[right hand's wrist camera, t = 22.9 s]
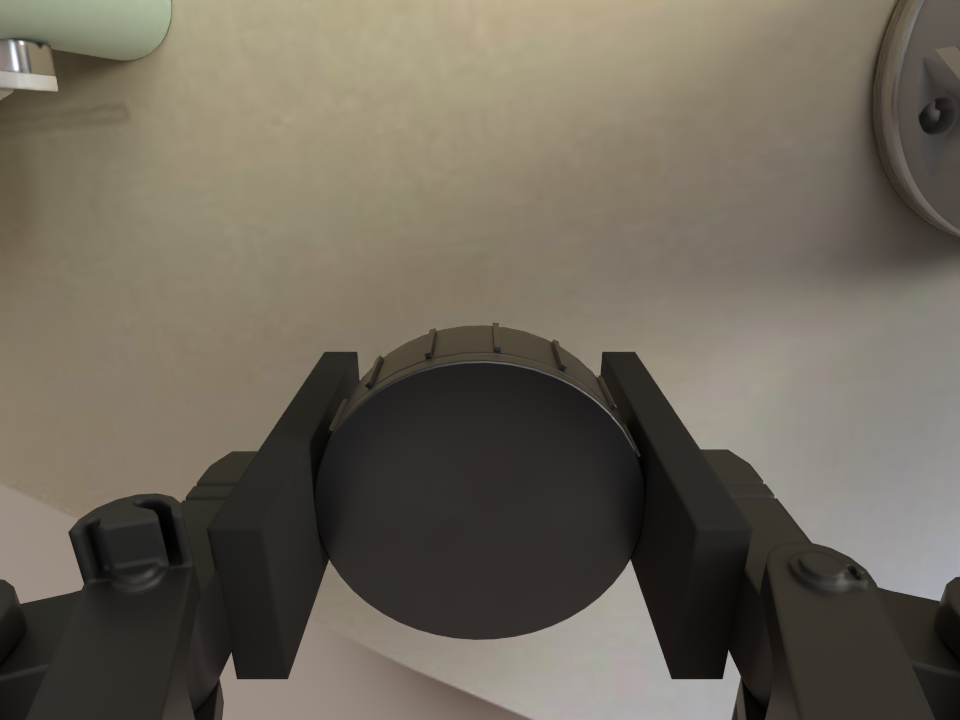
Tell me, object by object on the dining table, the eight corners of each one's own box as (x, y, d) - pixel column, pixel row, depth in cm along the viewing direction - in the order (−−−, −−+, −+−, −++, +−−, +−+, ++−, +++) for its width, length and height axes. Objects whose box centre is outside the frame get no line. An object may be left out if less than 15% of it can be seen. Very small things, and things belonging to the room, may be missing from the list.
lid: (307, 338, 11) (277, 376, 9) (624, 308, 11) (649, 341, 9) (361, 586, 13) (344, 652, 12) (626, 565, 13) (648, 630, 11)
